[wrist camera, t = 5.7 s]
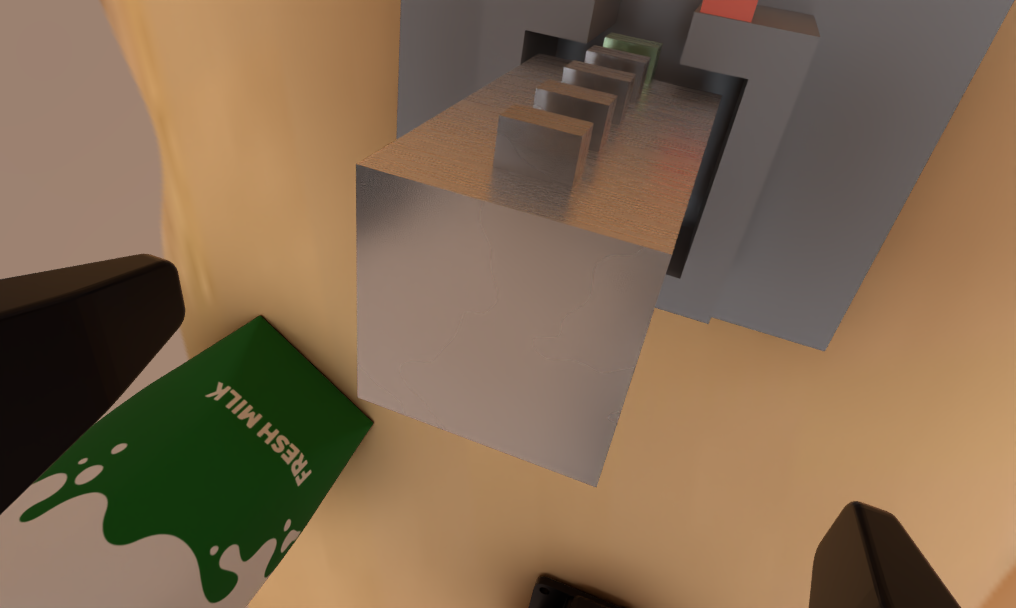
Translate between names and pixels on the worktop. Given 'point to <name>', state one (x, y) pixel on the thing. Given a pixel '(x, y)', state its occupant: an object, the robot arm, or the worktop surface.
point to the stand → (749, 126)
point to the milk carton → (184, 485)
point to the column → (527, 251)
